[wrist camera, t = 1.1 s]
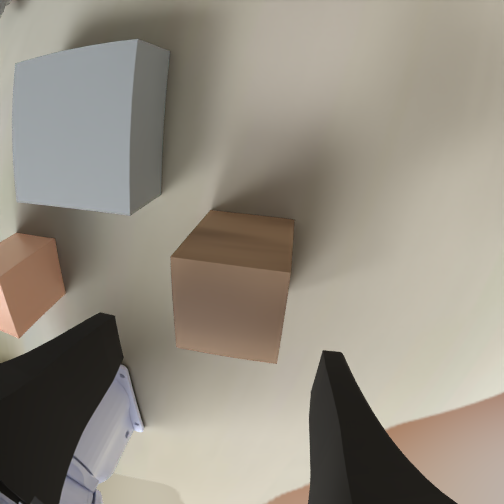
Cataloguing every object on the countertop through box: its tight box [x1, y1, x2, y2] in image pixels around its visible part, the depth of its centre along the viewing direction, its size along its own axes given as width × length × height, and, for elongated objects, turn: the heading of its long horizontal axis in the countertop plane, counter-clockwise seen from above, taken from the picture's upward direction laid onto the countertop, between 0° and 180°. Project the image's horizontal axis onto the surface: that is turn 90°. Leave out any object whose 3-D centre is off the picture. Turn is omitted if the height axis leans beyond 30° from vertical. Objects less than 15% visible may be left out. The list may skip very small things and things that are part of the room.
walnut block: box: [171, 210, 294, 364], centre depth 16 cm, size 4×4×6 cm
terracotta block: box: [0, 233, 66, 338], centre depth 18 cm, size 4×4×6 cm
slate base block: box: [12, 39, 170, 216], centre depth 15 cm, size 8×8×4 cm
